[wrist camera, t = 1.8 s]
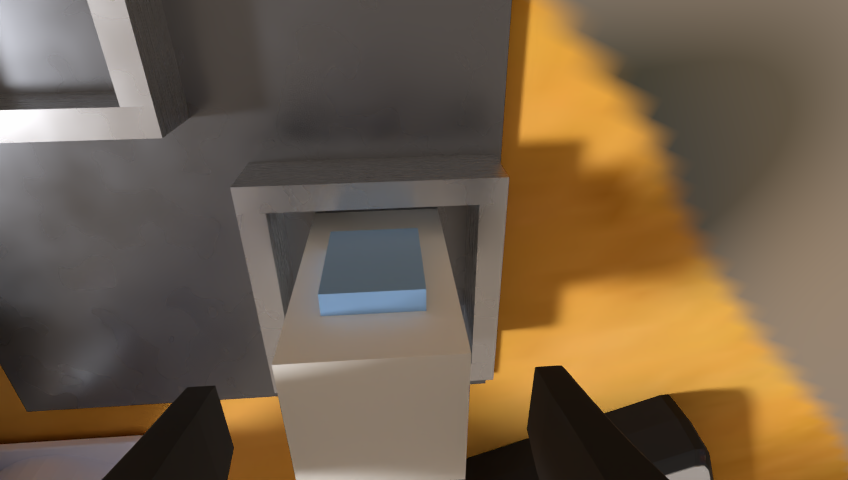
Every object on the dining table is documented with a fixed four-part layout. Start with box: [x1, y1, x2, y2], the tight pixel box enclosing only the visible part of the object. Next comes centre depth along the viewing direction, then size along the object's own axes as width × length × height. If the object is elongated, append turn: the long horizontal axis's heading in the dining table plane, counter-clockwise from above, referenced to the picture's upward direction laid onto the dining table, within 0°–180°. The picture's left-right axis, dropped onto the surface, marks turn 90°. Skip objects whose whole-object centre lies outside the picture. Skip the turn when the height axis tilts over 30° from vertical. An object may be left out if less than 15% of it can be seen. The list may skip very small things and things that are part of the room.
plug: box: [272, 208, 471, 480], centre depth 14 cm, size 5×4×7 cm
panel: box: [0, 0, 512, 412], centre depth 14 cm, size 20×18×2 cm
